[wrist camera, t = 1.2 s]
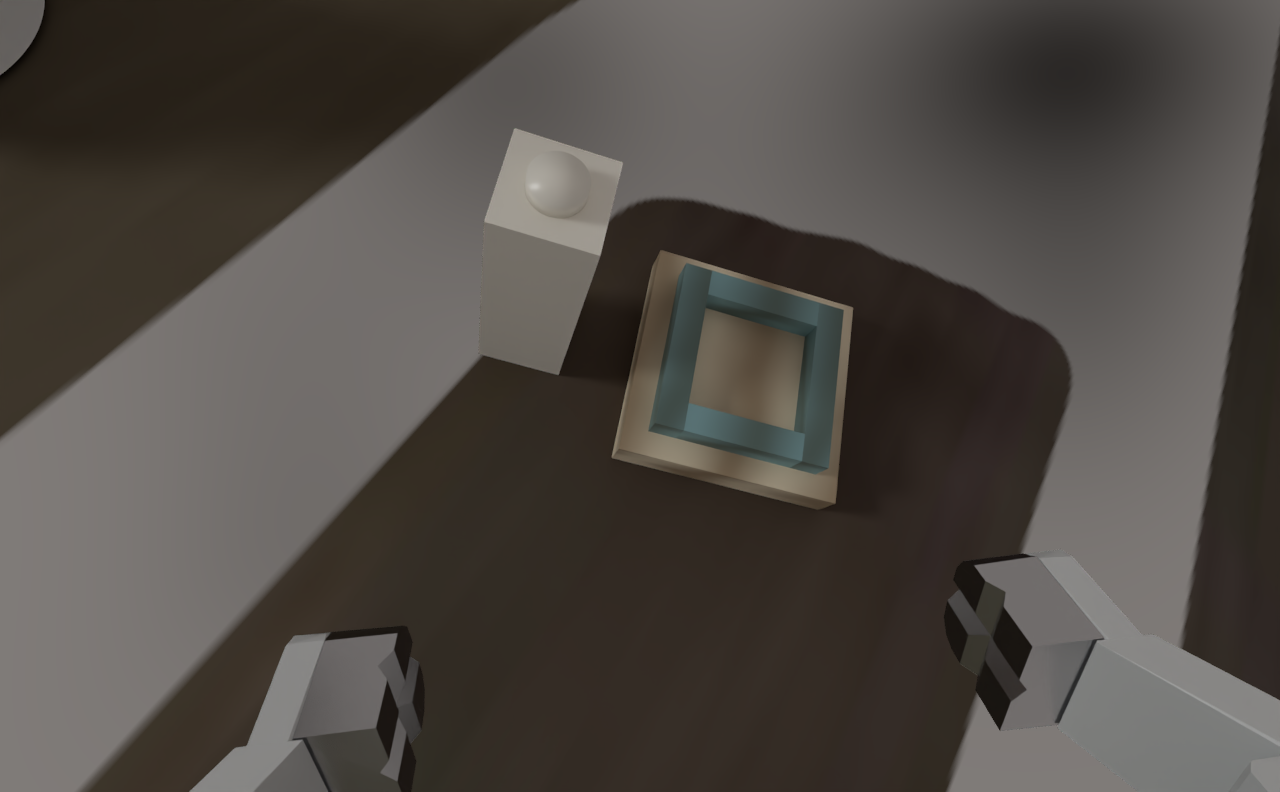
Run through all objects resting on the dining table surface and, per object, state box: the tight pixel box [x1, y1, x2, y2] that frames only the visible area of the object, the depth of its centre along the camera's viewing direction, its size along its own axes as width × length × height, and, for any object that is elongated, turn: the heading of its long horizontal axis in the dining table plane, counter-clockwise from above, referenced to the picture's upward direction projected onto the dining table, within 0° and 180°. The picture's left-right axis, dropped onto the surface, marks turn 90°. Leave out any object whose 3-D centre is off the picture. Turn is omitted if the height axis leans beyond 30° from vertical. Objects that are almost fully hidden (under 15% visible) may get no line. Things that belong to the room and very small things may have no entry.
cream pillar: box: [478, 128, 623, 375], centre depth 32 cm, size 4×4×14 cm
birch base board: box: [612, 250, 853, 510], centre depth 39 cm, size 12×12×4 cm
